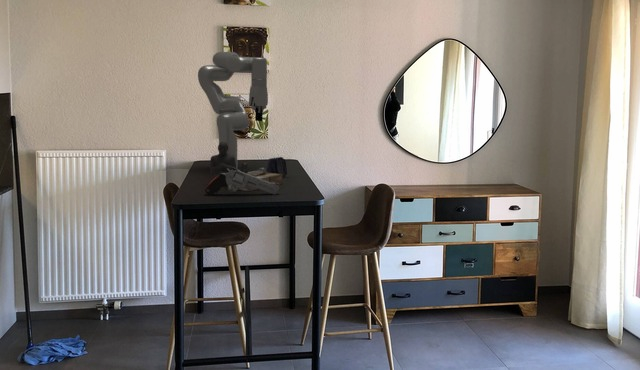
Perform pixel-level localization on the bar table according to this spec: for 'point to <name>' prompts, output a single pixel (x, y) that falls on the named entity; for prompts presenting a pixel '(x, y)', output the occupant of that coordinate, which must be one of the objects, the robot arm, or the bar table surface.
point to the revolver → (240, 182)
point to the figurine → (222, 161)
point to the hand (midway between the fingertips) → (258, 120)
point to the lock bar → (245, 170)
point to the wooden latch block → (266, 177)
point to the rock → (277, 166)
